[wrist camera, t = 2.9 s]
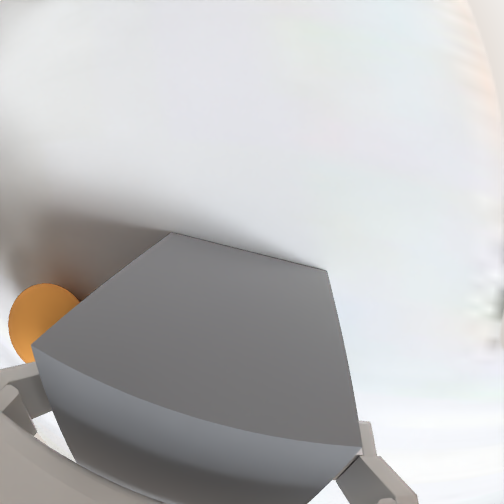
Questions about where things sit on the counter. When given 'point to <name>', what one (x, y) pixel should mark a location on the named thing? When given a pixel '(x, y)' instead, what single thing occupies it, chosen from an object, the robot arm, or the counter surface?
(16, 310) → the ball
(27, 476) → the robot arm
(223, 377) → the block
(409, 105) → the counter surface
